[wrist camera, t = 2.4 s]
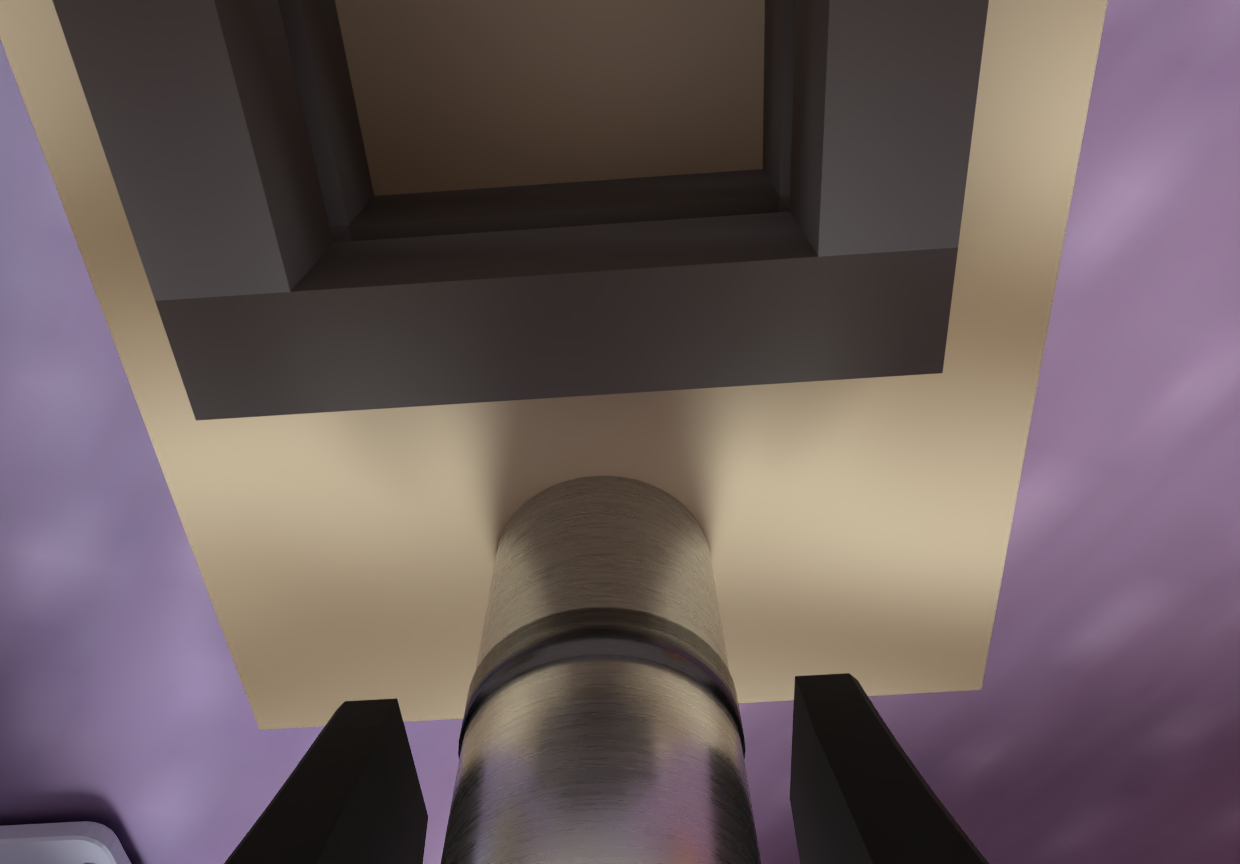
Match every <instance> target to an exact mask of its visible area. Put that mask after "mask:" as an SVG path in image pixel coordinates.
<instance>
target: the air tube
mask: <svg viewBox="0 0 1240 864" xmlns="http://www.w3.org/2000/svg"><path fill="white" fill-rule="evenodd" d="M458 754H459V765H458V770H457V776H456V781H455V787H454V793H453V798H452V804H451V809H450V815H449V820H448V826H447V832H446V837H445V843H444V848H443V854H442V860H441V864H761V860H760V854H759V848H758V842H757V835H756V829H755V823H754V817H753V811H752V805H751V799H750V793H749V787H748V781H747V775H746V768H745V762H744V758H745V743H744V734H743V728H742V723H741V717H740V711H739V705H738V699H737V693H736V689H735V685H734V682H733V678H732V676H731V674H730V671H729V665H728V659H727V653H726V646H725V640H724V634H723V628H722V622H721V616H720V610H719V604H718V598H717V592H716V585H715V579H714V573H713V567H712V561H711V555H710V549H709V545H708V541H707V538H706V536H705V533H704V531H703V529H702V527H701V525H700V524H699V522H698V521H697V519H696V518H695V516H694V515H693V514H692V513H691V512H690V511H689V509H688V508H687V507H686V506H685V505H683V504H682V503H681V502H680V501H679V500H678V499H676V498H675V497H673V496H672V495H670V494H669V493H667V492H665V491H664V490H661V489H659V488H657V487H655V486H653V485H651V484H648V483H645V482H642V481H639V480H635V479H630V478H625V477H617V476H589V477H581V478H576V479H572V480H568V481H564V482H562V483H559V484H556V485H553V486H551V487H549V488H547V489H545V490H543V491H541V492H539V493H538V494H536V495H535V496H533V497H532V498H530V499H529V500H528V501H527V502H525V503H524V504H523V505H522V506H521V507H520V508H519V509H518V510H517V511H516V512H515V513H514V515H513V516H512V517H511V518H510V520H509V521H508V523H507V525H506V526H505V528H504V530H503V532H502V535H501V537H500V540H499V544H498V548H497V552H496V558H495V563H494V569H493V575H492V580H491V586H490V591H489V597H488V603H487V608H486V614H485V619H484V625H483V631H482V636H481V642H480V647H479V653H478V658H477V664H476V670H475V673H474V676H473V678H472V680H471V683H470V687H469V691H468V695H467V701H466V706H465V712H464V717H463V722H462V728H461V733H460V739H459V752H458Z"/></svg>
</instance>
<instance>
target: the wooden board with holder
mask: <svg viewBox="0 0 1240 864" xmlns="http://www.w3.org/2000/svg"><path fill="white" fill-rule="evenodd" d="M1107 2H1108V0H0V39H1V41H2V44H3V47H4V49H5V52H6V55H7V57H8V60H9V63H10V65H11V68H12V71H13V73H14V76H15V79H16V81H17V84H18V87H19V89H20V92H21V95H22V97H23V100H24V103H25V105H26V108H27V111H28V113H29V116H30V119H31V121H32V124H33V127H34V129H35V132H36V135H37V137H38V140H39V143H40V145H41V148H42V151H43V153H44V156H45V159H46V161H47V164H48V167H49V169H50V172H51V175H52V177H53V180H54V183H55V185H56V188H57V191H58V193H59V196H60V199H61V201H62V204H63V207H64V209H65V212H66V215H67V217H68V220H69V223H70V225H71V228H72V231H73V234H74V236H75V239H76V242H77V244H78V247H79V250H80V252H81V255H82V258H83V260H84V263H85V266H86V268H87V271H88V274H89V276H90V279H91V282H92V284H93V287H94V290H95V292H96V295H97V298H98V300H99V303H100V306H101V308H102V311H103V314H104V316H105V319H106V322H107V324H108V327H109V330H110V332H111V335H112V338H113V340H114V343H115V346H116V348H117V351H118V354H119V356H120V359H121V362H122V364H123V367H124V370H125V372H126V375H127V378H128V380H129V383H130V386H131V388H132V391H133V394H134V396H135V399H136V402H137V404H138V407H139V410H140V412H141V415H142V418H143V420H144V423H145V426H146V428H147V431H148V434H149V436H150V439H151V442H152V444H153V447H154V450H155V452H156V455H157V458H158V460H159V463H160V466H161V468H162V471H163V474H164V476H165V479H166V482H167V484H168V487H169V490H170V492H171V495H172V498H173V500H174V503H175V506H176V508H177V511H178V514H179V516H180V519H181V522H182V524H183V527H184V530H185V532H186V535H187V538H188V540H189V543H190V546H191V548H192V551H193V554H194V556H195V559H196V562H197V564H198V567H199V570H200V572H201V575H202V578H203V580H204V583H205V586H206V588H207V591H208V594H209V596H210V599H211V602H212V604H213V607H214V610H215V612H216V615H217V618H218V620H219V623H220V626H221V628H222V631H223V634H224V636H225V639H226V642H227V644H228V647H229V650H230V652H231V655H232V658H233V660H234V663H235V666H236V668H237V671H238V674H239V676H240V679H241V682H242V684H243V687H244V690H245V692H246V695H247V698H248V700H249V703H250V706H251V708H252V711H253V714H254V716H255V719H256V722H257V724H258V727H259V730H262V729H280V728H298V727H316V726H325V725H326V724H327V723H328V721H329V720H330V718H331V717H332V716H333V714H334V713H335V711H336V710H337V709H338V708H339V707H340V706H341V705H342V704H343V703H344V702H345V701H359V700H377V699H395V698H397V700H398V703H399V707H400V711H401V715H402V719H403V722H407V721H425V720H443V719H461V718H463V717H464V712H465V706H466V701H467V695H468V691H469V687H470V683H471V680H472V678H473V676H474V673H475V670H476V664H477V658H478V653H479V647H480V642H481V636H482V631H483V625H484V619H485V614H486V608H487V603H488V597H489V591H490V586H491V580H492V575H493V569H494V563H495V558H496V552H497V548H498V544H499V540H500V537H501V535H502V532H503V530H504V528H505V526H506V525H507V523H508V521H509V520H510V518H511V517H512V516H513V515H514V513H515V512H516V511H517V510H518V509H519V508H520V507H521V506H522V505H523V504H524V503H525V502H527V501H528V500H529V499H530V498H532V497H533V496H535V495H536V494H538V493H539V492H541V491H543V490H545V489H547V488H549V487H551V486H553V485H556V484H559V483H562V482H564V481H568V480H572V479H576V478H581V477H589V476H617V477H625V478H630V479H635V480H639V481H642V482H645V483H648V484H651V485H653V486H655V487H657V488H659V489H661V490H664V491H665V492H667V493H669V494H670V495H672V496H673V497H675V498H676V499H678V500H679V501H680V502H681V503H682V504H683V505H685V506H686V507H687V508H688V509H689V511H690V512H691V513H692V514H693V515H694V516H695V518H696V519H697V521H698V522H699V524H700V525H701V527H702V529H703V531H704V533H705V536H706V538H707V541H708V545H709V549H710V555H711V561H712V567H713V573H714V579H715V585H716V592H717V598H718V604H719V610H720V616H721V622H722V628H723V634H724V640H725V646H726V653H727V659H728V665H729V671H730V674H731V676H732V678H733V682H734V685H735V689H736V693H737V699H738V703H751V702H769V701H788V700H794V687H795V676H807V675H825V674H843V673H850V674H851V675H852V676H853V677H854V678H856V679H857V680H858V681H859V683H860V684H861V686H862V688H863V689H864V691H865V693H866V694H867V696H878V695H896V694H914V693H932V692H951V691H969V690H981V689H982V683H983V678H984V672H985V667H986V661H987V656H988V650H989V645H990V640H991V634H992V629H993V623H994V618H995V612H996V607H997V601H998V596H999V591H1000V585H1001V580H1002V574H1003V569H1004V563H1005V558H1006V552H1007V547H1008V541H1009V536H1010V531H1011V525H1012V520H1013V514H1014V509H1015V503H1016V498H1017V492H1018V487H1019V482H1020V476H1021V471H1022V465H1023V460H1024V454H1025V449H1026V443H1027V438H1028V433H1029V427H1030V422H1031V416H1032V411H1033V405H1034V400H1035V394H1036V389H1037V383H1038V378H1039V373H1040V367H1041V362H1042V356H1043V351H1044V345H1045V340H1046V334H1047V329H1048V324H1049V318H1050V313H1051V307H1052V302H1053V296H1054V291H1055V285H1056V280H1057V274H1058V269H1059V264H1060V258H1061V253H1062V247H1063V242H1064V236H1065V231H1066V225H1067V220H1068V215H1069V209H1070V204H1071V198H1072V193H1073V187H1074V182H1075V176H1076V171H1077V165H1078V160H1079V155H1080V149H1081V144H1082V138H1083V133H1084V127H1085V122H1086V116H1087V111H1088V106H1089V100H1090V95H1091V89H1092V84H1093V78H1094V73H1095V67H1096V62H1097V56H1098V51H1099V46H1100V40H1101V35H1102V29H1103V24H1104V18H1105V13H1106V7H1107Z"/></svg>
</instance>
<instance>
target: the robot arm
mask: <svg viewBox="0 0 1240 864" xmlns="http://www.w3.org/2000/svg"><path fill="white" fill-rule="evenodd" d="M790 801H791V808H792V814H793V820H794V827H795V833H796V839H797V845H798V851H799V857H800V863H801V864H989V863H988V862H987V860H986V859H985V858H984V857H983V856H982V854H981V853H980V852H979V851H978V849H977V848H976V847H975V845H974V844H973V843H972V842H971V840H970V839H969V838H968V836H967V835H966V834H965V833H964V831H963V830H962V829H961V827H960V826H959V825H958V824H957V822H956V821H955V820H954V818H953V817H952V816H951V814H950V813H949V812H948V811H947V809H946V808H945V807H944V805H943V804H942V803H941V802H940V800H939V799H938V798H937V796H936V795H935V794H934V792H933V791H932V789H931V788H930V787H929V785H928V784H927V783H926V781H925V780H924V779H923V777H922V776H921V774H920V773H919V772H918V770H917V769H916V767H915V766H914V765H913V763H912V762H911V760H910V759H909V757H908V756H907V755H906V753H905V752H904V750H903V749H902V748H901V746H900V745H899V743H898V742H897V740H896V739H895V737H894V736H893V734H892V733H891V731H890V730H889V729H888V727H887V726H886V724H885V722H884V721H883V719H882V718H881V716H880V715H879V713H878V712H877V710H876V709H875V707H874V705H873V704H872V702H871V701H870V699H869V698H868V696H867V694H866V693H865V691H864V689H863V688H862V686H861V684H860V683H859V681H858V680H857V679H856V678H854V677H853V676H852V675H851V674H850V673H843V674H825V675H807V676H795V687H794V711H793V735H792V759H791V783H790ZM427 821H428V815H427V811H426V807H425V803H424V799H423V795H422V792H421V788H420V784H419V780H418V776H417V772H416V769H415V765H414V761H413V757H412V753H411V749H410V746H409V742H408V738H407V734H406V730H405V726H404V723H403V719H402V715H401V711H400V707H399V703H398V700H397V698H395V699H377V700H359V701H345V702H344V703H343V704H342V705H341V706H340V707H339V708H338V709H337V710H336V711H335V713H334V714H333V716H332V717H331V718H330V720H329V721H328V723H327V724H326V725H325V727H324V728H323V730H322V731H321V733H320V734H319V735H318V737H317V738H316V740H315V741H314V743H313V744H312V745H311V747H310V748H309V750H308V751H307V752H306V754H305V755H304V757H303V758H302V760H301V761H300V762H299V764H298V765H297V767H296V768H295V769H294V771H293V772H292V774H291V775H290V776H289V778H288V779H287V781H286V782H285V783H284V785H283V786H282V787H281V789H280V790H279V791H278V793H277V794H276V796H275V797H274V798H273V800H272V801H271V802H270V804H269V805H268V807H267V808H266V809H265V811H264V812H263V813H262V815H261V816H260V817H259V819H258V820H257V821H256V823H255V824H254V825H253V826H252V828H251V829H250V830H249V832H248V833H247V834H246V836H245V837H244V838H243V840H242V841H241V842H240V844H239V845H238V846H237V847H236V849H235V850H234V851H233V853H232V854H231V855H230V857H229V858H228V859H227V861H226V862H225V863H224V864H423V855H424V847H425V838H426V830H427ZM0 864H131V862H130V860H129V858H128V856H127V855H126V853H125V851H124V849H123V847H122V845H121V843H120V841H119V840H118V838H117V836H116V834H115V833H114V832H113V831H112V830H111V829H110V828H108V827H106V826H105V825H103V824H100V823H96V822H90V821H79V822H60V823H41V824H22V825H3V826H0Z"/></svg>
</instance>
